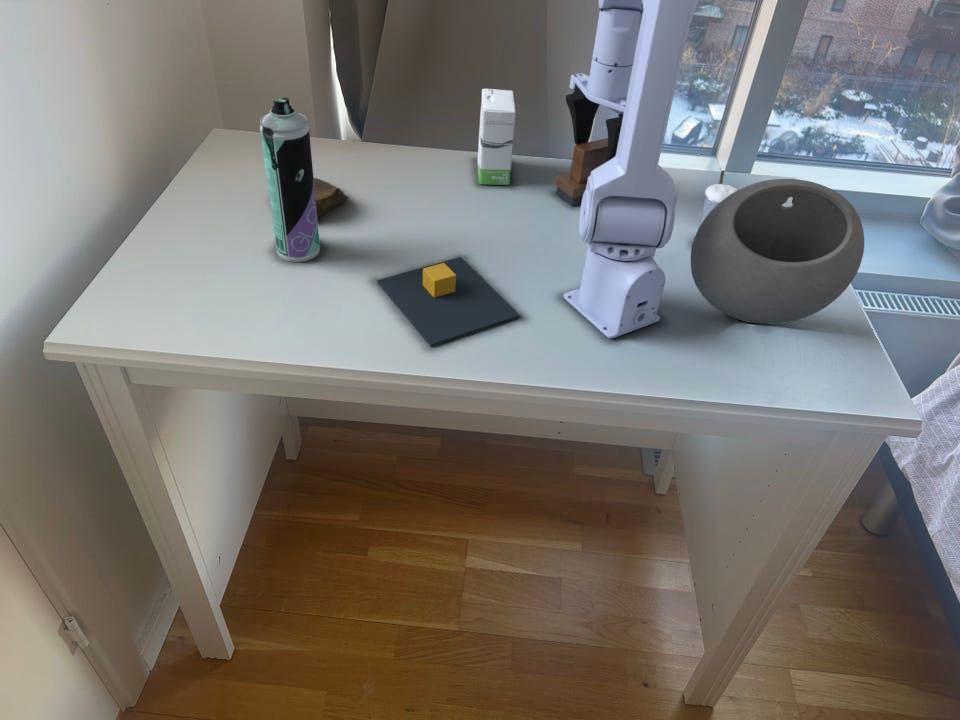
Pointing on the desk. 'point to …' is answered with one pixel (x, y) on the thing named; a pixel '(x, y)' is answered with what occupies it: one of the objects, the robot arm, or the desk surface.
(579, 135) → the robot arm
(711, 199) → the milkshake
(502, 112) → the ink box
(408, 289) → the mat
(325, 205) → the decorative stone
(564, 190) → the brush
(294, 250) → the spray can
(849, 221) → the planter
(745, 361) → the desk surface
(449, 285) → the mustard wooden cube
